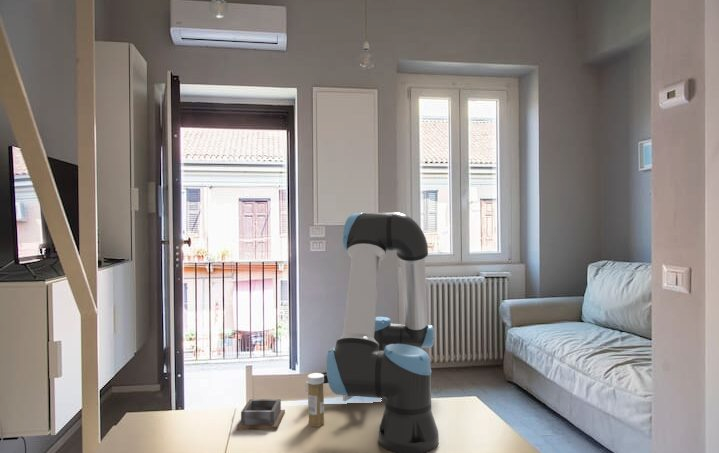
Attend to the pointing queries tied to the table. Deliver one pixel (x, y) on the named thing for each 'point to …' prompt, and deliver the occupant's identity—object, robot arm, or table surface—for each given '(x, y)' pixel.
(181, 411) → the table surface
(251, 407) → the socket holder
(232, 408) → the table surface
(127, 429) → the table surface
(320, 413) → the sprinkles bottle
